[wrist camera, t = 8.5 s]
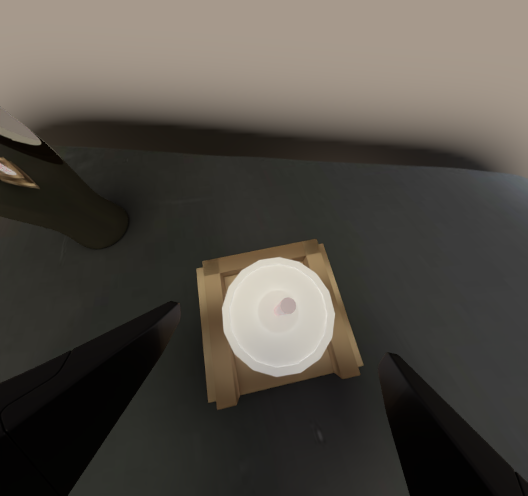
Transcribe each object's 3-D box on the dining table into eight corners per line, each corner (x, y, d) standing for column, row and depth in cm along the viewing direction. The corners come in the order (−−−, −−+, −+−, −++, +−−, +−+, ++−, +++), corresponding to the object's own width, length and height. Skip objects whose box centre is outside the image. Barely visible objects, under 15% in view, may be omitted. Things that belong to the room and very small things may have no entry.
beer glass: (135, 242, 23) (-79, 119, 9) (73, 261, 22) (-268, 160, 8) (130, 195, 25) (-46, 37, 11) (74, 210, 24) (-192, 62, 10)
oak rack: (358, 363, 18) (375, 371, 15) (211, 398, 17) (200, 413, 15) (320, 246, 22) (328, 236, 19) (199, 270, 21) (189, 263, 19)
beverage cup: (253, 359, 18) (214, 485, 4) (233, 294, 20) (167, 247, 6) (314, 334, 18) (441, 378, 5) (289, 274, 20) (334, 193, 7)
